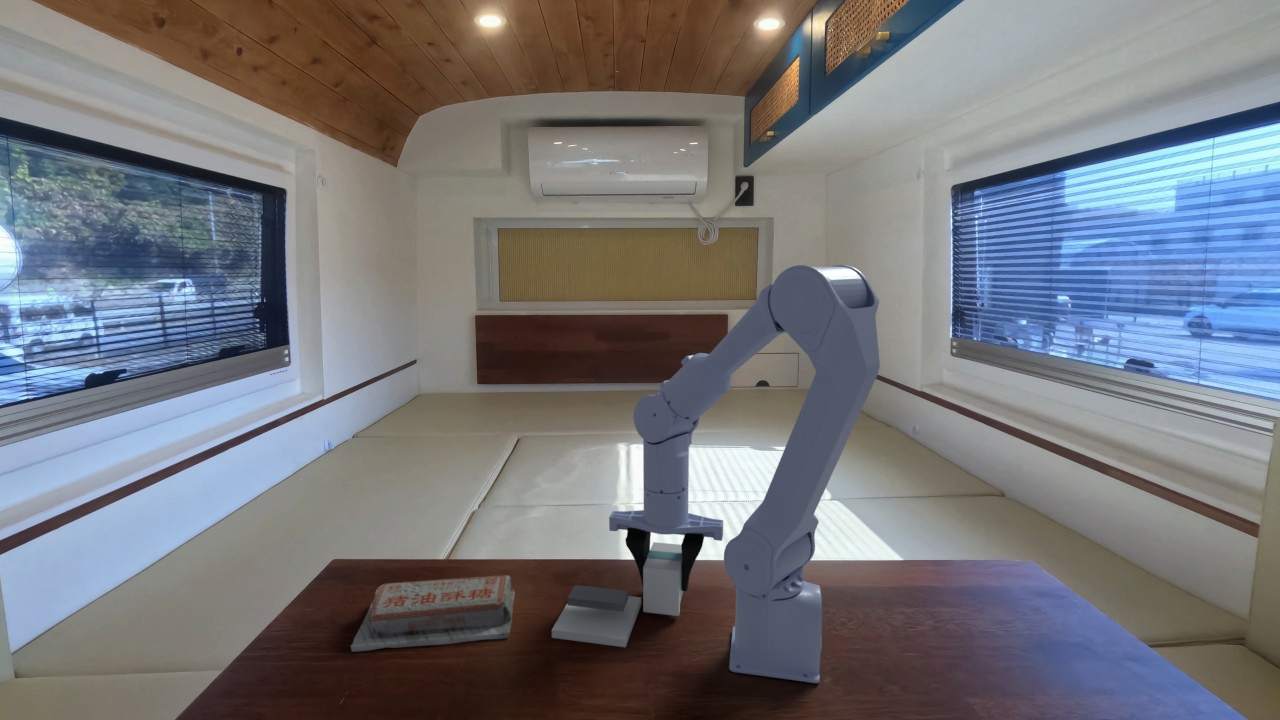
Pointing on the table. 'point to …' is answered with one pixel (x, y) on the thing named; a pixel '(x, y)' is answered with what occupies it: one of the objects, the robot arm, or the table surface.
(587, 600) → the dark grey flat block
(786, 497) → the robot arm
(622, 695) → the table surface
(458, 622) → the packaged product
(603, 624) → the base
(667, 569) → the block
